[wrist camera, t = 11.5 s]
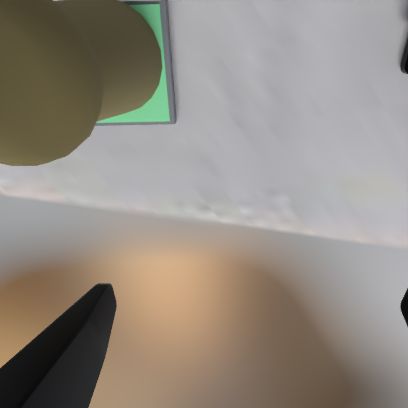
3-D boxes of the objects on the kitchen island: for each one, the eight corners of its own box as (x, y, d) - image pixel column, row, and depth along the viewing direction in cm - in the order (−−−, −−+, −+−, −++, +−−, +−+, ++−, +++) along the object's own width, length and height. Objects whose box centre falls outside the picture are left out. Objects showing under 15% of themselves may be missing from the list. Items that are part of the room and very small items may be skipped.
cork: (51, -12, 15) (-243, -104, 5) (165, 5, 15) (77, -53, 6) (65, 106, 18) (-106, 181, 8) (159, 119, 18) (97, 207, 9)
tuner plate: (166, -8, 15) (163, -11, 15) (176, 121, 19) (174, 124, 18) (39, -3, 16) (30, -5, 15) (72, 123, 19) (66, 126, 18)
